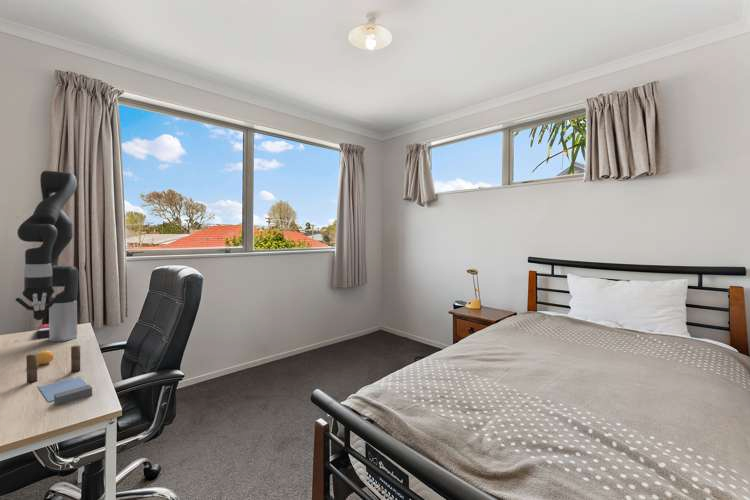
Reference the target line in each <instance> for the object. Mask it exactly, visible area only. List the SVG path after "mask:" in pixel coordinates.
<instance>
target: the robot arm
mask: <svg viewBox="0 0 750 500" xmlns="http://www.w3.org/2000/svg"><path fill="white" fill-rule="evenodd" d="M39 181H40V190H41V197H42V200H41V201H40V202H39V203H38V204H37V205H36V207H35V209H34V211H33V213H32V215H30V216H29V217H28V218H26V220H24V221H23V222H22V223H21V224H20V225H19V227H18V229H17V232H16V233H17V237H18V239H20V240H21V241H23V242H26V243H42V244H41V246H38V247H32V248H27V249H26V250H25V252H24V260H25V261H24V264H25V265H24V271H23V275H24V277H23V279H24V280H23V281H24V286H23V291H22V292H21V293H22V294H21V295H19V296H16V297H14V301H16V302H17V303H19V305H21V306H22V307H24V308H25V309H26V310H28V311H32V318H33V319H34V320H35V321H41V320H43V319H44V318H45V310H46V309H48V324H49V337H48V338H49V339H48V340H49V342H54V343H55V342H57V343H58V342H64V341H70V340H73V339H76V338H77V337H78V294H79V281H80V280H79V278H80V274H79V272H80V271H79V270H78V268H77V267H76V266H70V265H63V266H61V265H60V266H59V259H60V255H61V253H62V252H63V251H64V249H66V248H67V246H68V245H69V244H70V242H71V241H72V239H73V236H74V235H73V233H74V232H73V222H72V220H71V218H70V217H69V216H68V215H67V214H66V213H65V211H64V210H63V209H64V206H65V205H66V204H67V203H68V202H69V200H70V199H71V198H72V196H73V195H74V194H75V192H76V190H77V187H78V181H77V177H76V176H75V175H74V174H73V173H70V172H66V171H65V172H64V171H56V170H43V171H42V172H41V174H40V179H39ZM55 287H57V288H59V287H60V288H61V287H64V289H63V291H61V292H58V293H57V292H55V290H54V288H55ZM25 298H26V299H27V300H28V301H30V302H31V305H32V306H31V305H29V304H28V303H26V302H25V300H26V299H25ZM46 301H48V302H47V303H46Z"/></svg>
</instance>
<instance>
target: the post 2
mask: <svg viewBox="0 0 750 500" xmlns="http://www.w3.org/2000/svg"><path fill="white" fill-rule="evenodd" d="M70 352H71V354H70V360H71V361H70V363H71V364H70V366H71V369H70V371H71V373H78V372H81V345H78V344H77V345H73V346H71V347H70Z"/></svg>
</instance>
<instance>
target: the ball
mask: <svg viewBox="0 0 750 500" xmlns="http://www.w3.org/2000/svg"><path fill="white" fill-rule="evenodd" d="M36 354H37V365H47V364H50V363H51V362H52V361H53V360H54V358H55V353H54V352H53V351H51V350H48V349H46V350H42V351H39V352H38V353H36Z"/></svg>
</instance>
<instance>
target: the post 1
mask: <svg viewBox="0 0 750 500" xmlns="http://www.w3.org/2000/svg"><path fill="white" fill-rule="evenodd" d="M37 354H38V353H30V354H27V355H26V357H25V358H26V383H27V384H34V383H36V382H38V363H37Z"/></svg>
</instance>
